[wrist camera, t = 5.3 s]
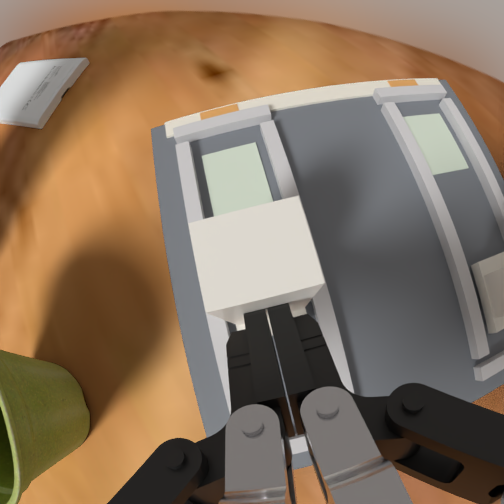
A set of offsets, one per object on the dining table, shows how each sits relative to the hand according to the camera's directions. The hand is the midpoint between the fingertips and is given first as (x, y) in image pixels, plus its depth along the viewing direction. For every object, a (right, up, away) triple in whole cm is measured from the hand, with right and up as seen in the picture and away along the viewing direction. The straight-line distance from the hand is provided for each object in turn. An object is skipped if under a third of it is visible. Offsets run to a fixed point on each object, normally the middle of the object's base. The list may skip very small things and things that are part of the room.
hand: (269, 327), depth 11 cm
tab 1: (0, 0, +5) cm, 5 cm away
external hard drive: (-23, +19, +14) cm, 33 cm away
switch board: (+6, +3, +7) cm, 10 cm away
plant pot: (-13, -8, +6) cm, 16 cm away
